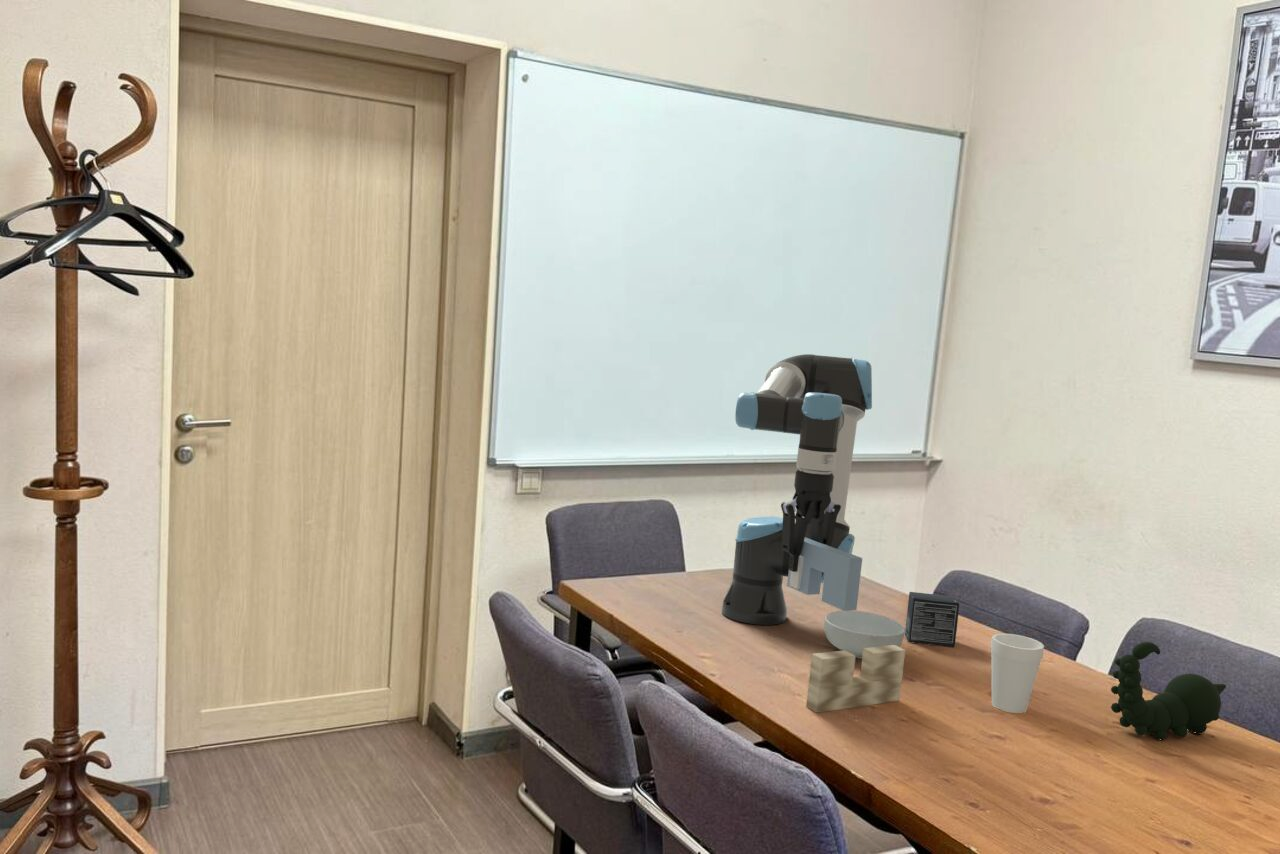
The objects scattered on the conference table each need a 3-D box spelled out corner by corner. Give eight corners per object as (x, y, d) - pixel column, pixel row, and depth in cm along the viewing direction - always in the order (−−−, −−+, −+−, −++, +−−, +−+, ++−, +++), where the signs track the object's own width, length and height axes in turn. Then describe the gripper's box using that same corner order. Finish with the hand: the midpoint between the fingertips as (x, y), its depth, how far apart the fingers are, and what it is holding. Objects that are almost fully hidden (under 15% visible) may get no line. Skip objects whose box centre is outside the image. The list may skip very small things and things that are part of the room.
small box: (950, 639, 247) (955, 595, 246) (955, 648, 241) (961, 603, 239) (903, 634, 248) (908, 590, 247) (907, 642, 242) (913, 597, 240)
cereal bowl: (817, 658, 225) (820, 625, 224) (825, 636, 241) (828, 605, 240) (899, 672, 220) (903, 639, 220) (902, 649, 236) (906, 618, 236)
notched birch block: (816, 712, 194) (822, 659, 193) (806, 706, 196) (812, 653, 195) (899, 700, 204) (905, 649, 202) (888, 695, 206) (894, 644, 205)
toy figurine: (1134, 756, 191) (1243, 737, 199) (1141, 654, 188) (1251, 639, 196) (1096, 734, 200) (1202, 717, 208) (1103, 637, 197) (1209, 623, 205)
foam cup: (1034, 704, 209) (1043, 639, 207) (1035, 720, 200) (1044, 652, 198) (983, 694, 212) (992, 630, 210) (982, 709, 203) (991, 643, 201)
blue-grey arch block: (787, 585, 216) (792, 537, 215) (799, 585, 218) (804, 537, 217) (843, 610, 201) (849, 558, 200) (856, 610, 202) (862, 558, 201)
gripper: (793, 473, 205) (780, 593, 207) (859, 474, 213) (845, 590, 215) (770, 467, 212) (758, 583, 214) (835, 468, 219) (822, 580, 222)
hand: (802, 586), depth 214 cm, fingers closed on blue-grey arch block, 3 cm apart
